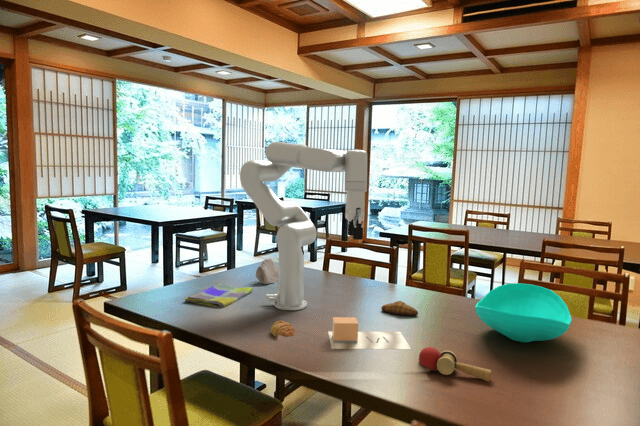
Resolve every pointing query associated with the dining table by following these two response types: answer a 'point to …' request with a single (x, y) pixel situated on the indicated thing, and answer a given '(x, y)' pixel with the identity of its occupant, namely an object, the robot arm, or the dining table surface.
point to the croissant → (400, 309)
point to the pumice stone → (267, 272)
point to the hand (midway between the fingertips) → (355, 237)
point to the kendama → (449, 363)
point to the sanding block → (345, 330)
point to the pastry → (282, 329)
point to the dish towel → (219, 295)
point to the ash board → (373, 341)
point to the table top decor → (524, 312)
